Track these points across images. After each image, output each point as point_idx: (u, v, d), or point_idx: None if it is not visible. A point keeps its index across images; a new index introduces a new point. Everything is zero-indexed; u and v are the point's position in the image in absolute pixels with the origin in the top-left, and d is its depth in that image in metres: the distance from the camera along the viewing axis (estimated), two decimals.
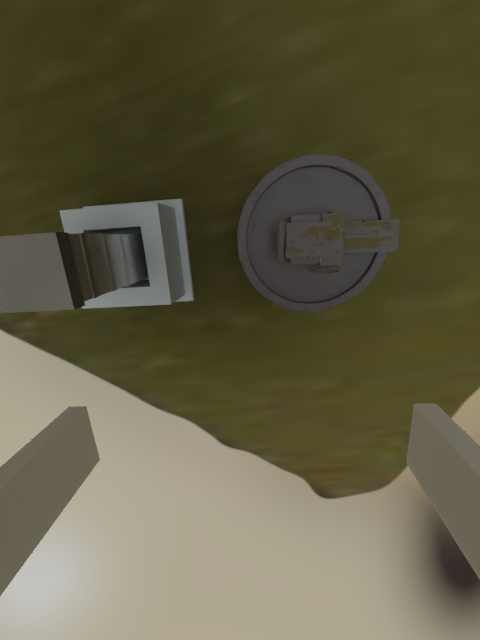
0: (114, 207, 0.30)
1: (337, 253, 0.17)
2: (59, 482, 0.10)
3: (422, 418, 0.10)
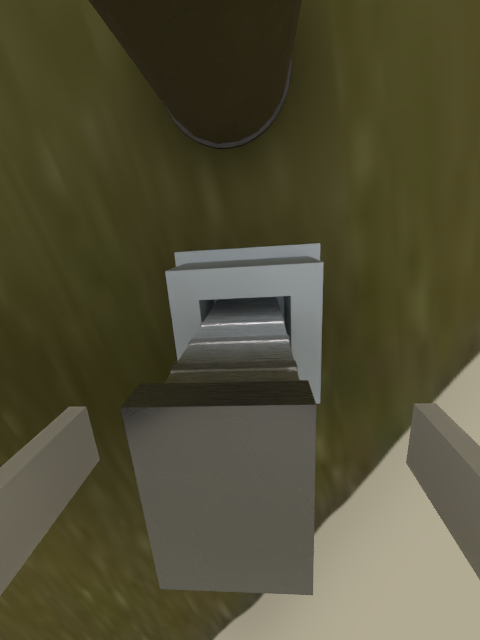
0: (175, 334, 0.21)
1: None
2: (59, 482, 0.10)
3: (423, 418, 0.10)
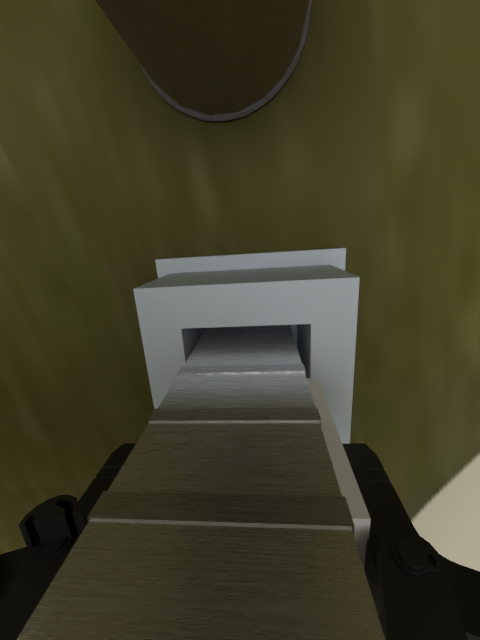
0: (150, 373, 0.15)
1: None
2: None
3: None
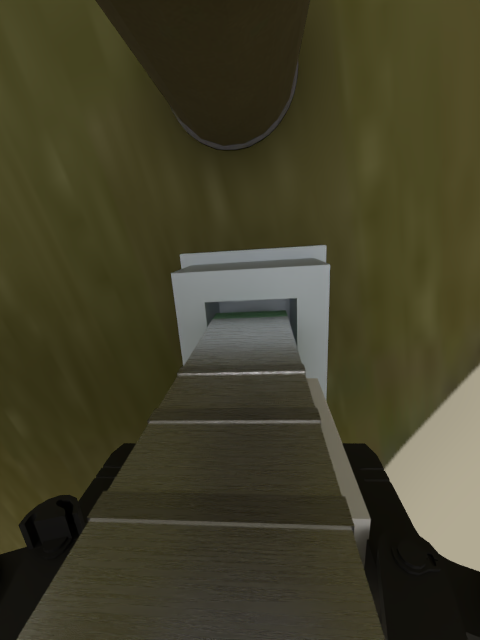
0: (181, 336, 0.21)
1: None
2: None
3: None
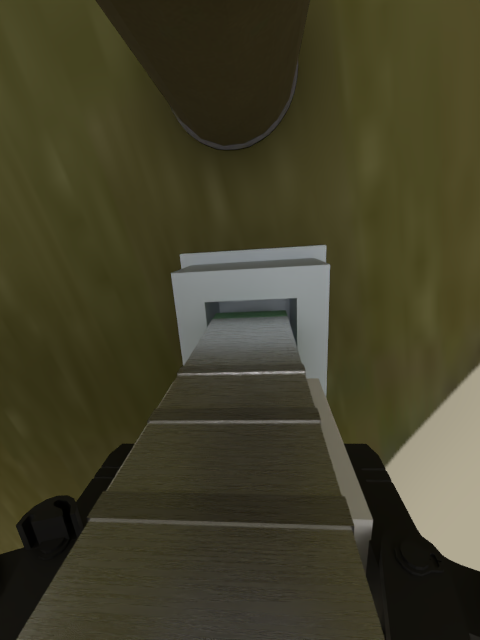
0: (181, 336, 0.21)
1: None
2: None
3: None
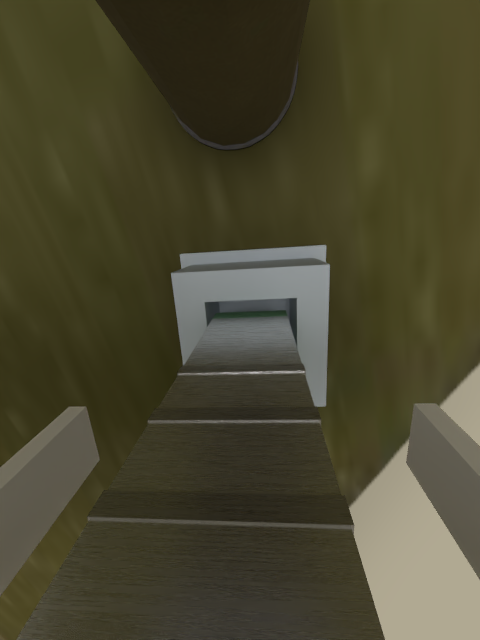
0: (181, 335, 0.21)
1: None
2: (59, 482, 0.10)
3: (422, 418, 0.10)
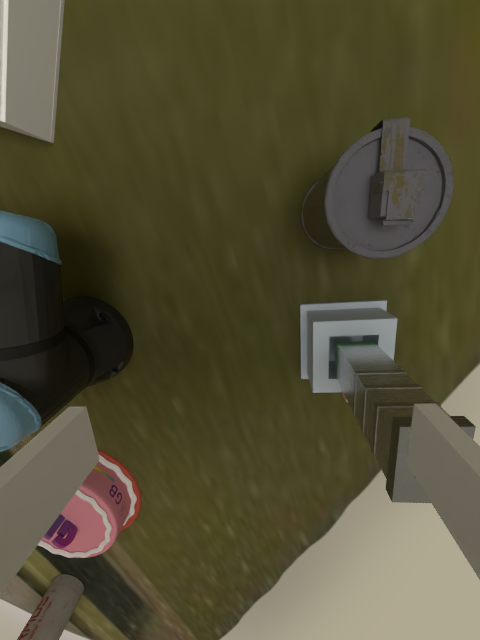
0: (314, 353, 0.39)
1: (416, 175, 0.21)
2: (59, 482, 0.10)
3: (423, 418, 0.10)
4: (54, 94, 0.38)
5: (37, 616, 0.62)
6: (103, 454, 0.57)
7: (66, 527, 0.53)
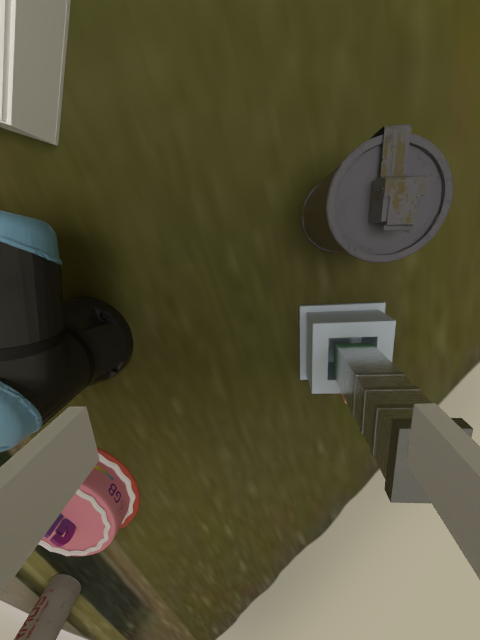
0: (313, 355, 0.40)
1: (416, 181, 0.21)
2: (59, 482, 0.10)
3: (422, 418, 0.10)
4: (59, 96, 0.38)
5: (35, 616, 0.62)
6: (102, 452, 0.57)
7: (64, 525, 0.53)
